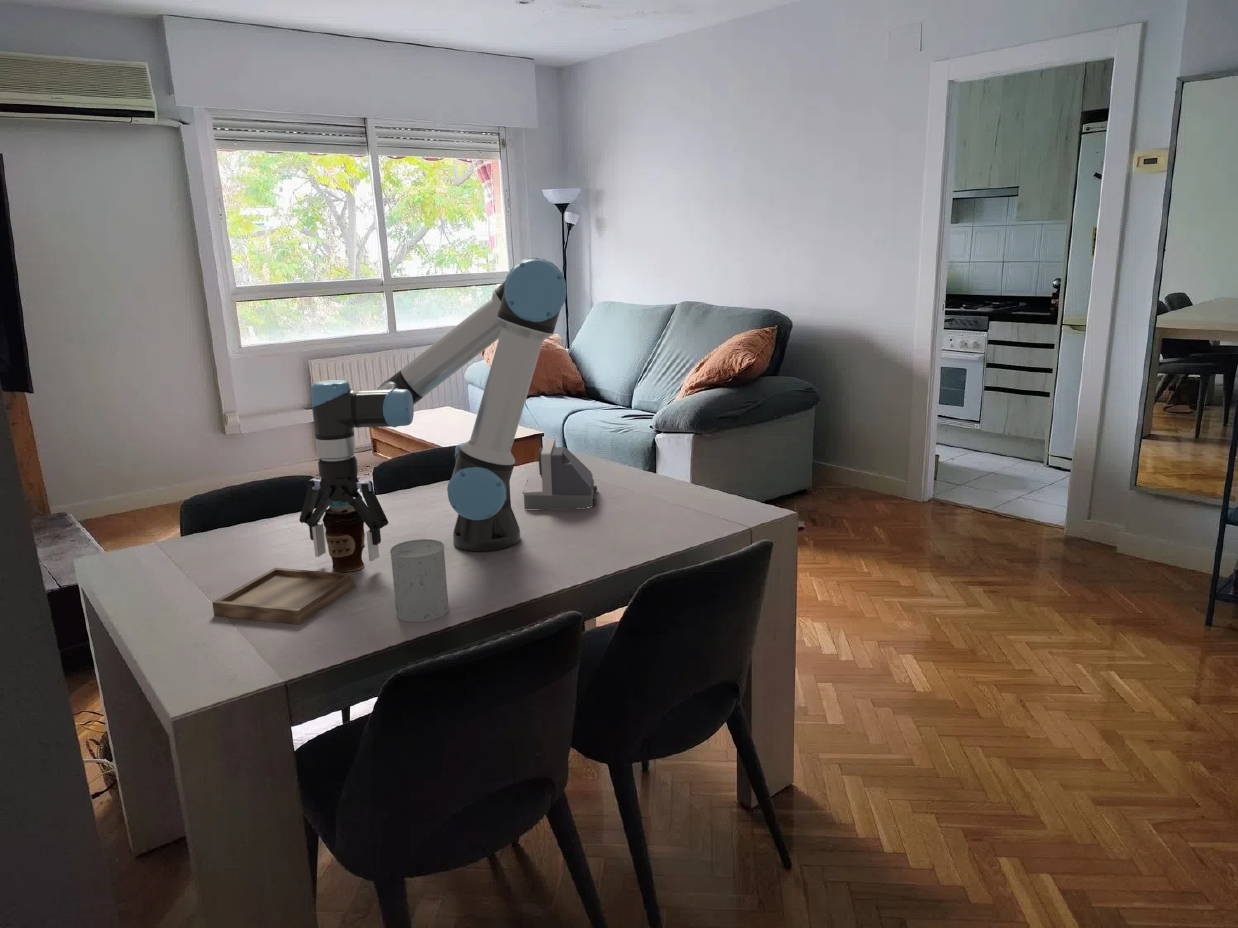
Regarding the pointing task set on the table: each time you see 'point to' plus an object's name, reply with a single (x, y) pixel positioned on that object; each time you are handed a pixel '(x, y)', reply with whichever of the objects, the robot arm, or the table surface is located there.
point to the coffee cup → (344, 537)
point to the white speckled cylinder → (419, 580)
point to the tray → (284, 595)
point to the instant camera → (559, 481)
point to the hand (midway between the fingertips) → (347, 556)
